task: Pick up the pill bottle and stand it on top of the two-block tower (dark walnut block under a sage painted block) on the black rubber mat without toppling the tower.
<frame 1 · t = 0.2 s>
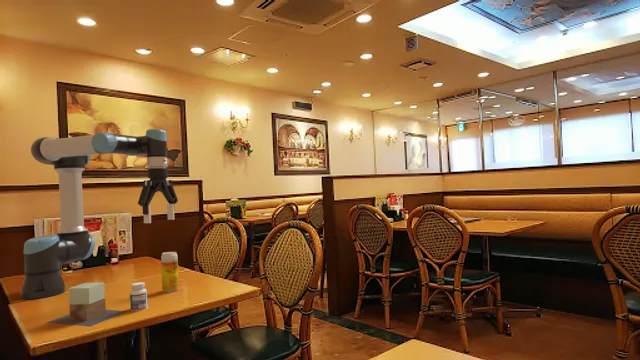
hand: (159, 221, 155), 28 cm above the table, fingers open, 13 cm apart
block upper: (87, 300, 125), point 5 cm above the table, touching block lower
pill bottle: (139, 310, 131), on the table
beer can: (170, 291, 154), on the table
block lower: (88, 316, 125), resting on mat, touching block upper
mat: (88, 317, 125), on the table
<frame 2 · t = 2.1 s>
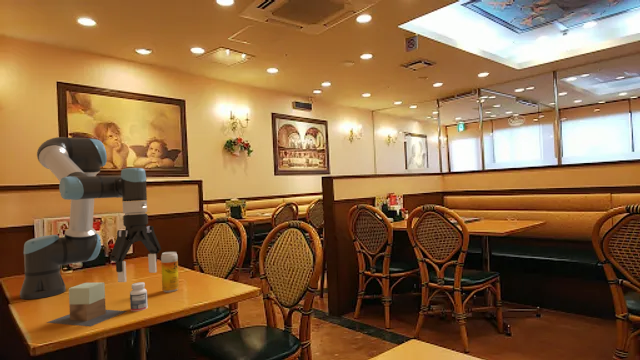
hand: (138, 276, 131), 11 cm above the table, fingers open, 13 cm apart
nothing on the table moved.
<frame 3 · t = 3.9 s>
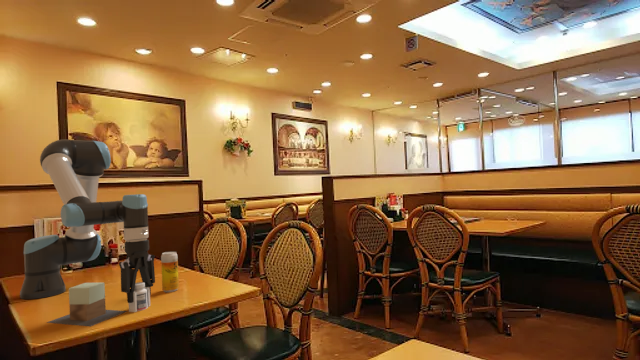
hand: (139, 308, 131), 0 cm above the table, fingers closed on pill bottle, 5 cm apart
pill bottle: (139, 310, 131), on the table, touching gripper
everything else where it was.
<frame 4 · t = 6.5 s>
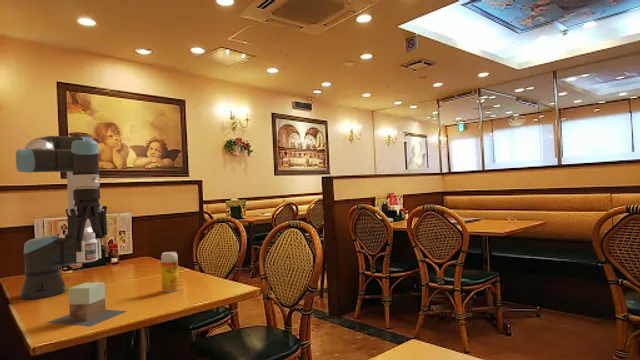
hand: (89, 259, 125), 18 cm above the table, fingers closed on pill bottle, 5 cm apart
pill bottle: (88, 261, 126), point 18 cm above the table, touching gripper
everything else where it was.
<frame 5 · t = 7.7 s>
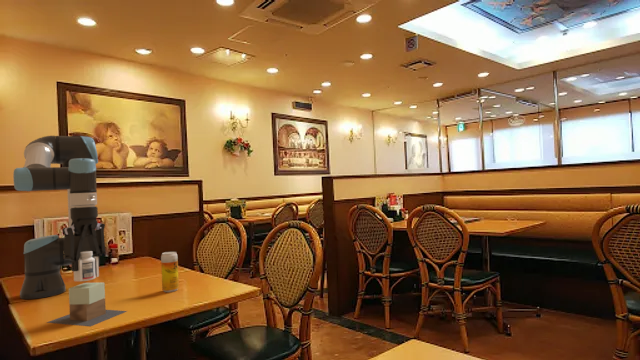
hand: (86, 278, 125), 13 cm above the table, fingers closed on pill bottle, 5 cm apart
pill bottle: (86, 280, 125), point 12 cm above the table, touching gripper
everything else where it was.
when the fingers open (11 cm above the table, at t = 8.7 s): pill bottle stays where it is, resting on block upper.
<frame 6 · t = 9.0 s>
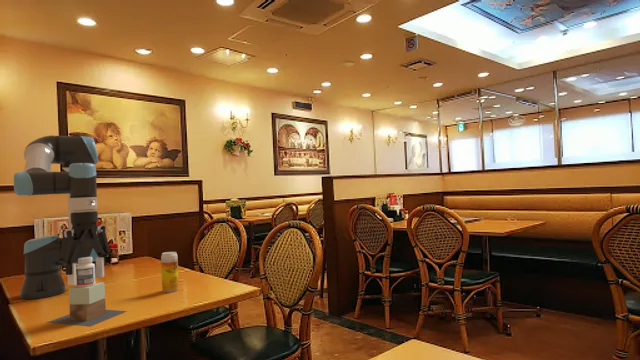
hand: (86, 280, 125), 12 cm above the table, fingers open, 9 cm apart
block upper: (87, 300, 125), point 5 cm above the table, touching block lower, pill bottle
pill bottle: (86, 286, 125), point 10 cm above the table, touching block upper
everything else where it was.
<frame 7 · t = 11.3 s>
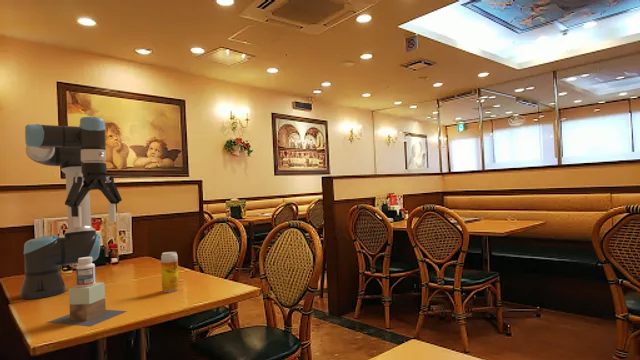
hand: (96, 224, 133), 29 cm above the table, fingers open, 13 cm apart
nothing on the table moved.
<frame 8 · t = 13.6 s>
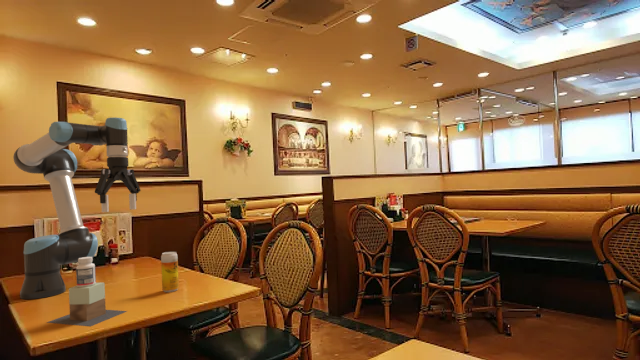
hand: (119, 210, 154), 33 cm above the table, fingers open, 13 cm apart
nothing on the table moved.
at the end: pill bottle 0.2 cm off-centre on the block upper, point 4.8 cm above the block upper's base; pill bottle tilted 0°; block upper tilted 0° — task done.
